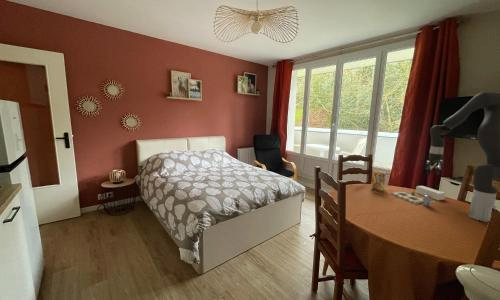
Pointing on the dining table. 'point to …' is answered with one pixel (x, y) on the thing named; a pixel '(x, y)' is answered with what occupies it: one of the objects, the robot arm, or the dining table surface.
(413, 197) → the cream peg board
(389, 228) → the dining table surface
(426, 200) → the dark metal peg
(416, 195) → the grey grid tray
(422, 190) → the grey housing
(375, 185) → the candy box
